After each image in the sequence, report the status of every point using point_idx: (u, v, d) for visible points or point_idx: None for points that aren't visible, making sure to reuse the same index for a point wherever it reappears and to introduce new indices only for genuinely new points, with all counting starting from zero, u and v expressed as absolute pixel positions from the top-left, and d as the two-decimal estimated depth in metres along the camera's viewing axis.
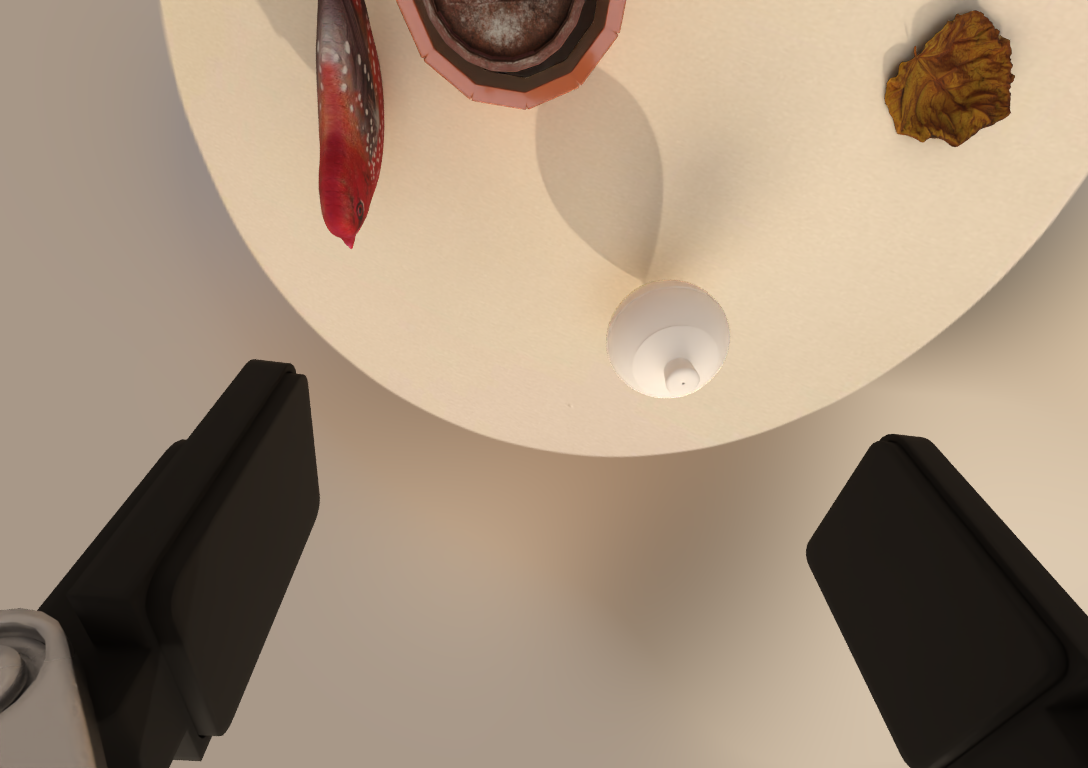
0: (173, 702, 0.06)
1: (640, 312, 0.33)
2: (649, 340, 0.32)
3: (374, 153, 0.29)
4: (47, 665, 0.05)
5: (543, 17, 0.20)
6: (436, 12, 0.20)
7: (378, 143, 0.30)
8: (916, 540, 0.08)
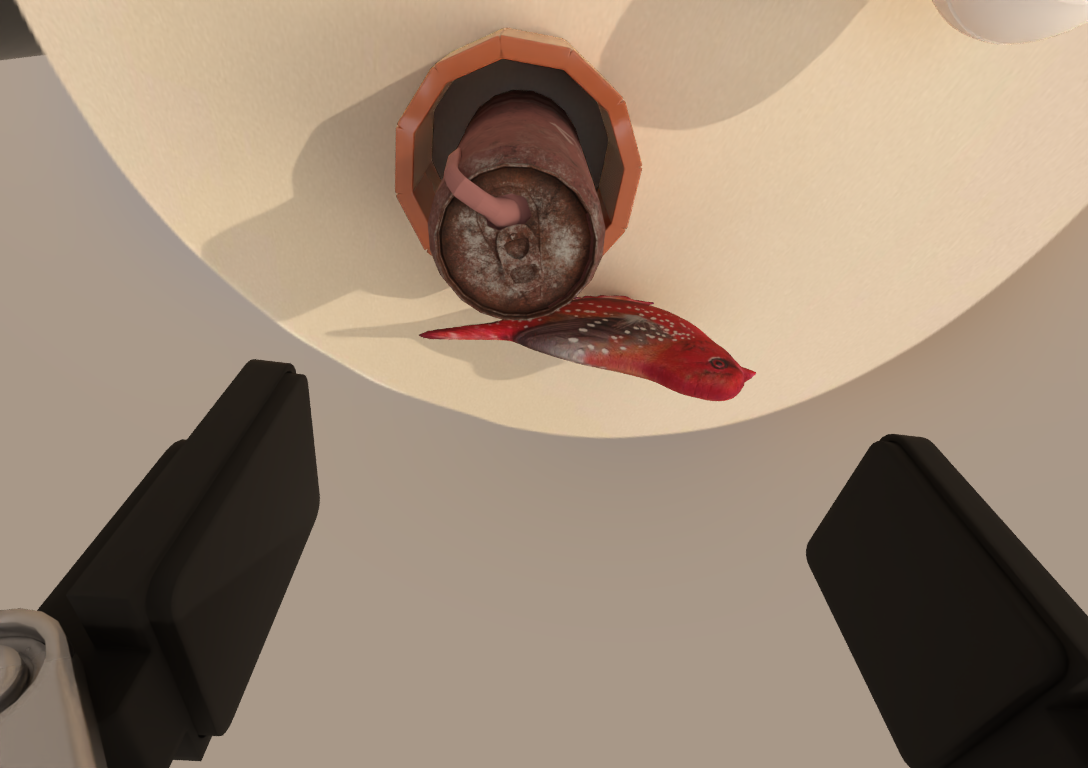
0: (173, 702, 0.06)
1: None
2: None
3: (665, 330, 0.29)
4: (47, 665, 0.05)
5: (554, 202, 0.18)
6: (548, 310, 0.20)
7: (656, 320, 0.30)
8: (916, 540, 0.08)
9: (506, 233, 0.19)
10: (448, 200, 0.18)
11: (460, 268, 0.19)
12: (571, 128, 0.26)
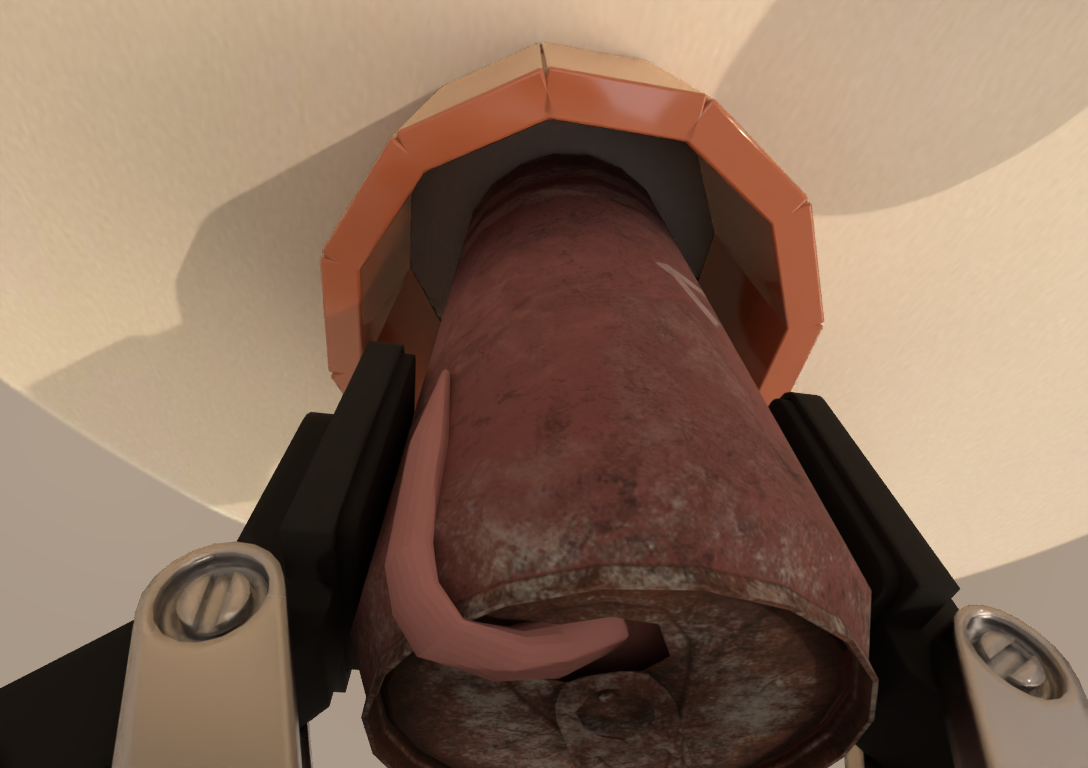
0: (338, 633, 0.07)
1: None
2: None
3: None
4: (270, 586, 0.05)
5: (752, 634, 0.05)
6: None
7: None
8: None
9: (586, 687, 0.06)
10: (402, 659, 0.05)
11: (447, 741, 0.07)
12: None
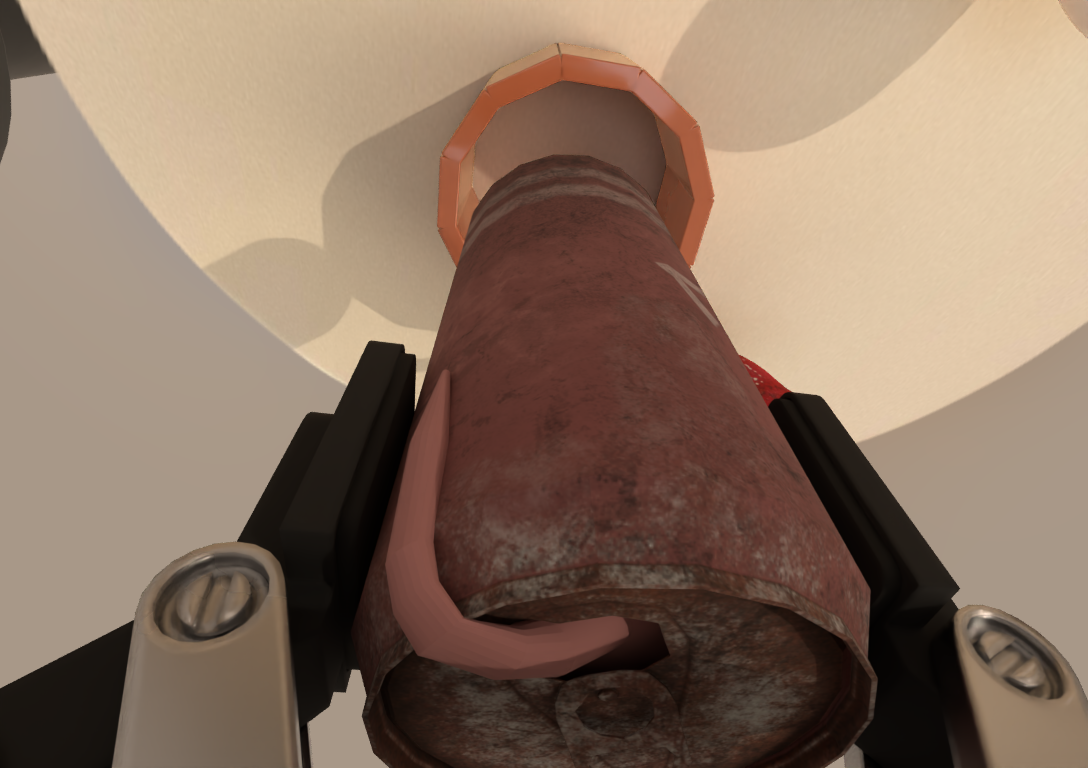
0: (339, 633, 0.07)
1: None
2: None
3: None
4: (270, 586, 0.05)
5: (751, 633, 0.06)
6: None
7: None
8: None
9: (585, 687, 0.06)
10: (402, 658, 0.05)
11: (447, 740, 0.07)
12: None
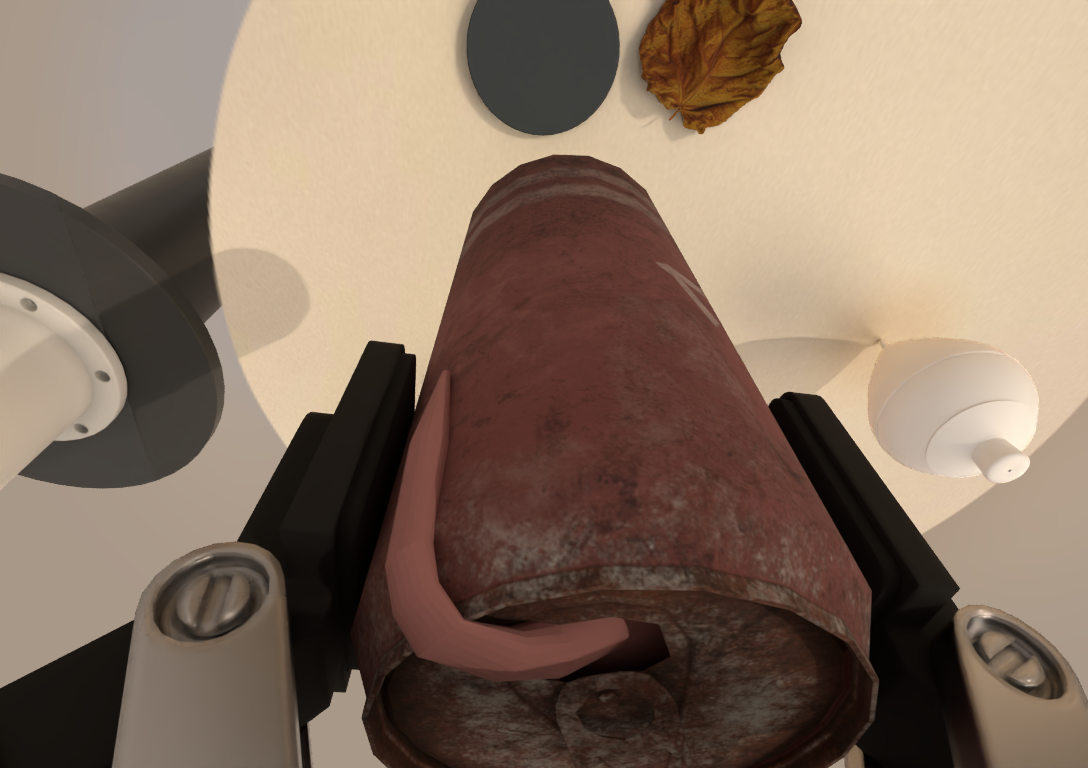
0: (338, 633, 0.07)
1: (897, 456, 0.30)
2: (934, 468, 0.29)
3: None
4: (270, 586, 0.05)
5: (752, 634, 0.05)
6: None
7: None
8: None
9: (586, 687, 0.06)
10: (402, 659, 0.05)
11: (448, 741, 0.07)
12: None
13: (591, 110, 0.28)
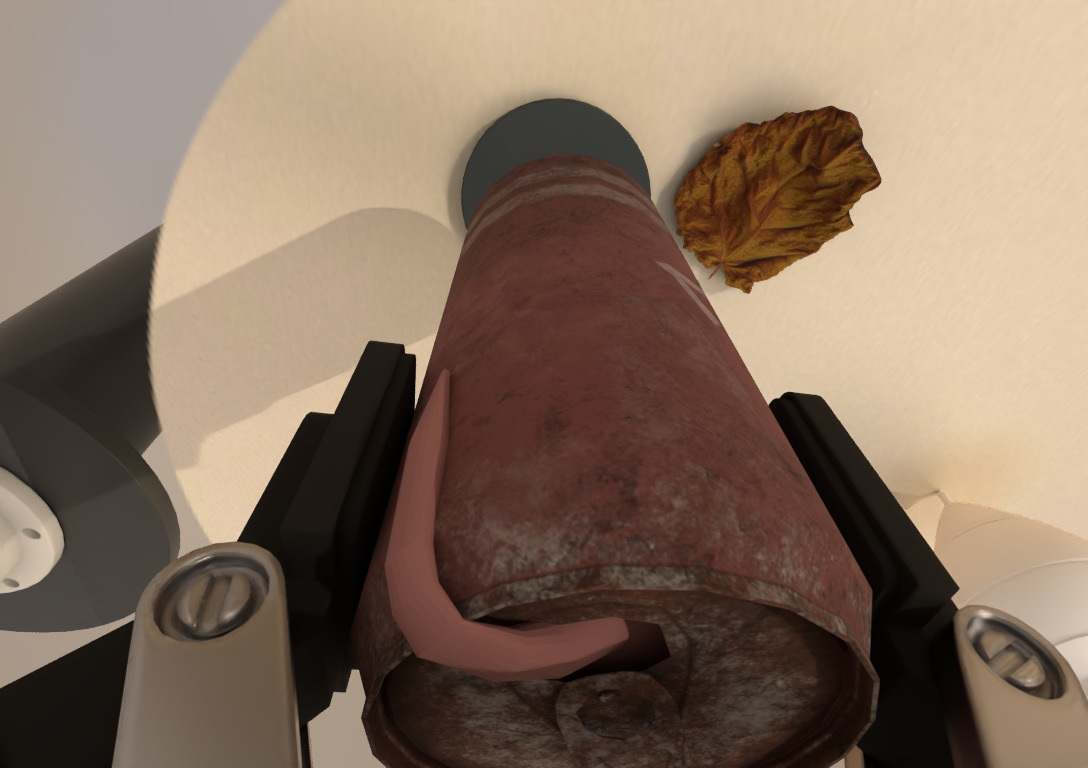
0: (339, 633, 0.07)
1: None
2: None
3: None
4: (270, 586, 0.05)
5: (753, 634, 0.05)
6: None
7: None
8: None
9: (587, 687, 0.06)
10: (402, 660, 0.05)
11: (447, 743, 0.07)
12: None
13: None
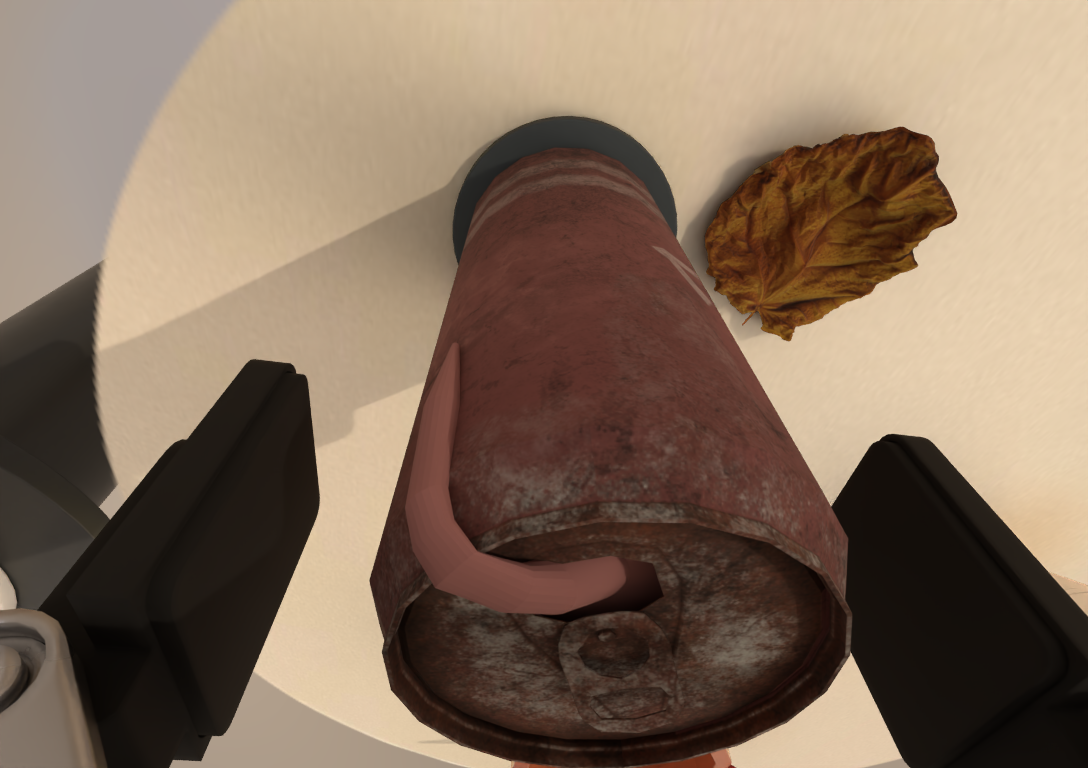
0: (174, 702, 0.06)
1: None
2: None
3: None
4: (47, 665, 0.05)
5: (738, 573, 0.06)
6: (677, 744, 0.08)
7: None
8: (916, 540, 0.08)
9: (586, 627, 0.07)
10: (421, 592, 0.06)
11: (458, 682, 0.07)
12: None
13: None
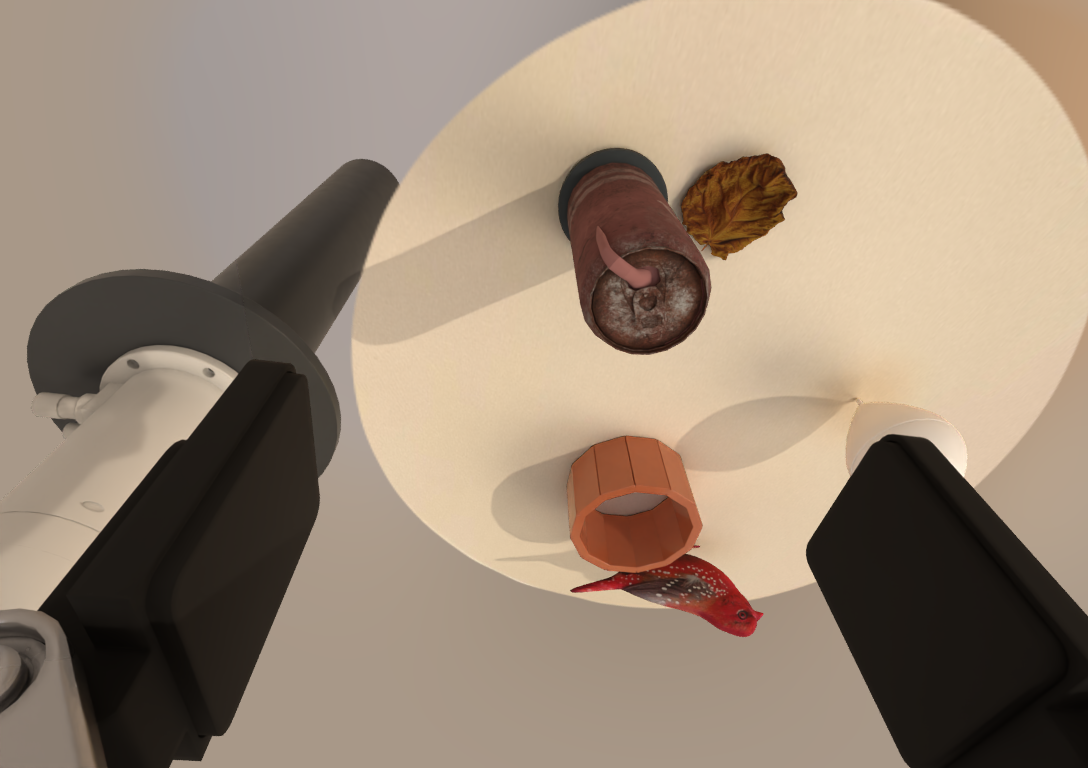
0: (174, 702, 0.06)
1: None
2: None
3: (711, 588, 0.51)
4: (48, 665, 0.05)
5: (679, 272, 0.25)
6: (665, 346, 0.27)
7: (705, 579, 0.52)
8: (916, 540, 0.08)
9: (641, 293, 0.25)
10: (604, 271, 0.24)
11: (603, 317, 0.26)
12: None
13: None
